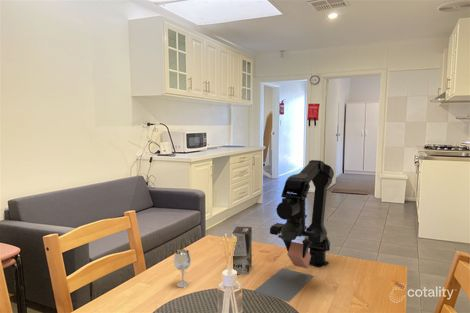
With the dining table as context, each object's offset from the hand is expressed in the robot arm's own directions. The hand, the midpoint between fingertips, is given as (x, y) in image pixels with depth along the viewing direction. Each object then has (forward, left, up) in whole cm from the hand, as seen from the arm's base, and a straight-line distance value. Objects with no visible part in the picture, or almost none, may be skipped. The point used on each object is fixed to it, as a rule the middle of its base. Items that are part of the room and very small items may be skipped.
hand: (296, 256), depth 120 cm
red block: (-5, -2, -4) cm, 7 cm away
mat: (+4, -2, -10) cm, 11 cm away
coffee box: (+8, -20, -10) cm, 24 cm away
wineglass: (+32, -24, -10) cm, 42 cm away
